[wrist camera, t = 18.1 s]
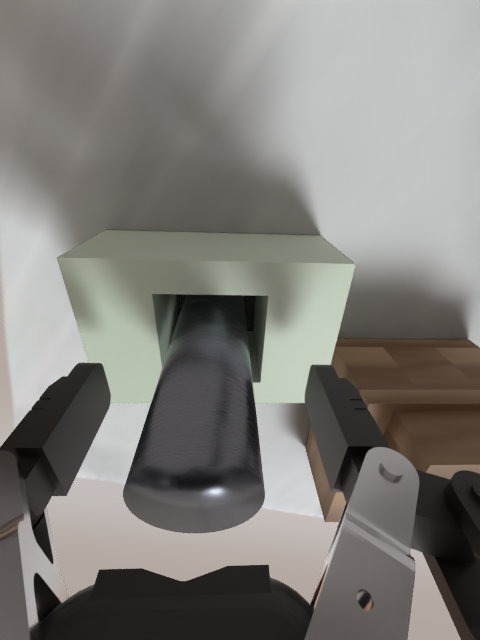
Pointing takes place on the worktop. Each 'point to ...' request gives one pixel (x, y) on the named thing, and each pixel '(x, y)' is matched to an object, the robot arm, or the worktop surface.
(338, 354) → the socket block
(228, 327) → the grey peg
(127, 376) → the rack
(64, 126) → the worktop surface
